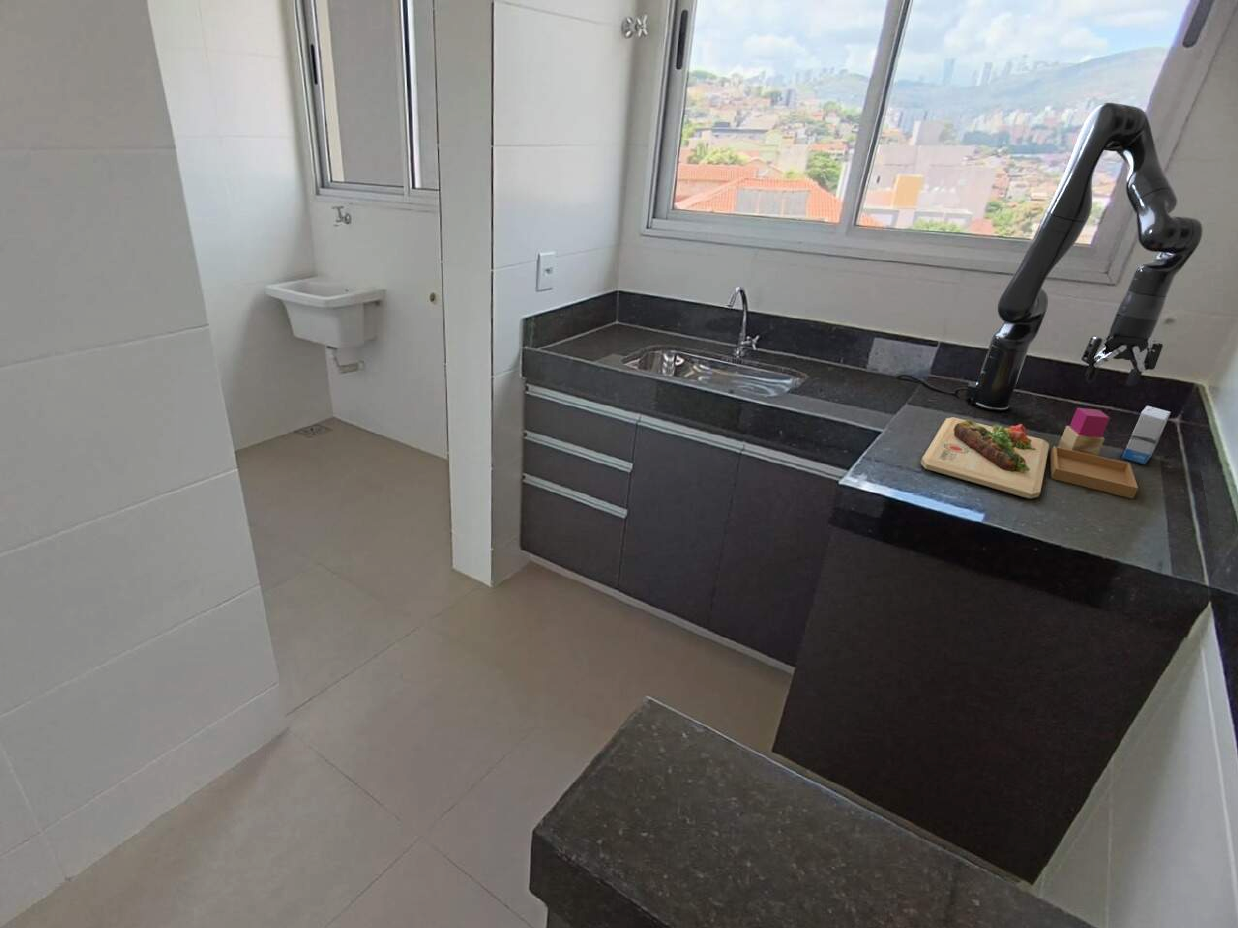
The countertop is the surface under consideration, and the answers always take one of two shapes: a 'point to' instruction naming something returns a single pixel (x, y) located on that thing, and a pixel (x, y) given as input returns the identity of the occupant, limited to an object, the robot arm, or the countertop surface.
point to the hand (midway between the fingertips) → (1109, 384)
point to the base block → (1080, 442)
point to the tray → (1093, 472)
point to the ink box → (1146, 434)
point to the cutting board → (989, 456)
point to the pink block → (1089, 422)
